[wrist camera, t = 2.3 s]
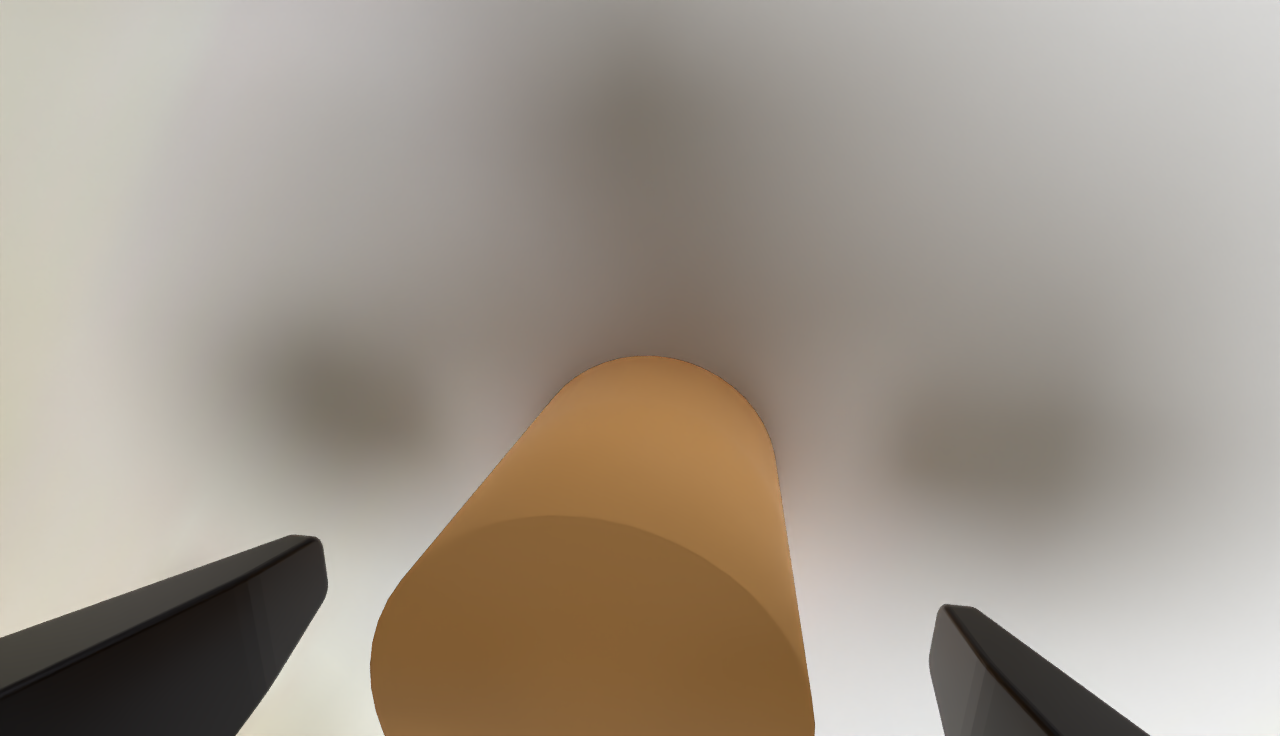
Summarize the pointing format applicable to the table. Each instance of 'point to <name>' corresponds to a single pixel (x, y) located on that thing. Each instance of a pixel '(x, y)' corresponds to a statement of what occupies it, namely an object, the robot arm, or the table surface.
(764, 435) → the orange cylinder
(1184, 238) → the table surface
